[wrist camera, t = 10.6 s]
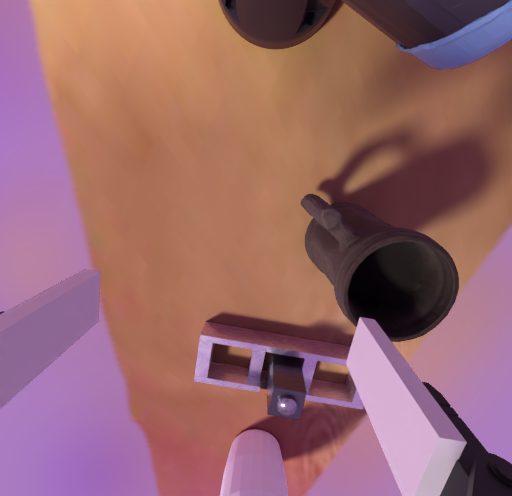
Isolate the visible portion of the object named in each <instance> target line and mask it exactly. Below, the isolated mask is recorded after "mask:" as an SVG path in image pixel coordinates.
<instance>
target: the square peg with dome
mask: <svg viewBox="0 0 512 496" xmlns="http://www.w3.org/2000/svg"><path fill="white" fill-rule="evenodd" d="M306 394H307V392H306V387H305V382H304V376H303V371H302V366H301V361H300V358H298V357H293V356H287V355H281V354H275V353H270V354H269V359H268V363H267V412H268V415H274V416H281V417H287V418H293V419H299V420H300V416H301V412H302V409H303V405H304V401H305V398H306Z"/></svg>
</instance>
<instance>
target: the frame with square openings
mask: <svg viewBox="0 0 512 496" xmlns="http://www.w3.org/2000/svg"><path fill="white" fill-rule="evenodd" d="M215 343H217V344H222V345H228V346H234V347H240V348H246V349H252V354H251V359H250V364H249V368H246V367H240V366H234V365H228V364H222V363H217V362H212V357H213V350H214V344H215ZM350 348H351V346H346V345H340V344H334V343H328V342H322V341H317V340H311V339H305V338H299V337H293V336H288V335H282V334H276V333H270V332H264V331H259V330H253V329H247V328H241V327H235V326H230V325H224V324H218V323H212V322H205V325H204V327H203V330H202V332H201V335H200V341H199V348H198V356H197V363H196V370H195V377H194V381H196V382H202V383H208V384H214V385H220V386H226V387H232V388H237V389H243V390H249V391H255V392H259V394H265V395H267V371H264V370H262V366H263V362H264V357H265V352H269V353H275V354H281V355H287V356H293V357H298V358H302V359H301V366H302V371H303V376H304V382H305V387H306V392H307V394H306V398H305V400H309V401H315V402H320V403H326V404H332V405H338V406H344V407H350V408H356V409H363V406H364V405H363V402H362V400H361V398H360V395H359V393H358V391H357V388H356V386H355V384H354V381H353V379H352V377H351V374H350V372H349V373H348V376H347V380H346V383H345V384H340V383H334V382H328V381H323V380H317V379H312V378H313V374H314V371H315V367H316V363H317V361H322V362H328V363H334V364H339V365H345V366H347V365H346V361H347V358H348V354H349V351H350Z"/></svg>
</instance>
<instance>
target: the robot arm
mask: <svg viewBox="0 0 512 496" xmlns="http://www.w3.org/2000/svg"><path fill="white" fill-rule="evenodd" d="M335 1H336V0H219V3H220V6H221V9H222V11H223V13H224V15H225V17H226V19H227V20H228V22H229V23H230V25H231V26H232V27H233V29H234V30H235V31H236V32H237V33H238V34H239V35H240V36H241V37H243V38H244V39H245V40H247V41H249V42H250V43H252V44H254V45H257V46H259V47H263V48H268V49H284V48H289V47H292V46H295V45H297V44H300V43H302V42H303V41H305V40H307V39H308V38H309V37H311V36H312V35H313V34H314V33H315V32H316V31H317V30H318V29H319V28H320V27H321V26H322V25H323V23H324V22H325V21H326V19H327V18H328V16H329V14H330V12H331V10H332V8H333V6H334V4H335ZM341 1H343V2H344V3H345V4H346V5H348V6H349V7H350V8H352V9H353V10H354V11H356V12H357V13H358V14H359V15H361V16H362V17H363V18H365V19H366V20H367V21H368V22H370V23H371V24H372V25H374V26H375V27H376V28H378V29H379V30H380V31H381V32H383V33H384V34H385V35H387V36H388V37H389V38H390V39H392V40H393V41H394V42H396V47H397V48H398V49H400V50H401V51H403V52H407V53H411V54H412V55H414V56H415V57H417V58H418V59H420V60H421V61H423V62H424V63H425V64H427V65H428V66H430V67H432V68H436V69H447V68H449V69H453V68H458V67H461V66H464V65H467V64H469V63H471V62H474V61H476V60H478V59H480V58H482V57H484V56H486V55H487V54H489V53H491V52H493V51H494V50H496V49H498V48H499V47H501V46H503V45H504V44H506V43H507V42H509V41H510V40H512V0H341ZM99 300H100V272H98V271H93V270H87V269H84V270H83V271H81V272H79V273H77V274H75V275H73V276H71V277H69V278H68V279H66V280H64V281H62V282H60V283H58V284H56V285H54V286H53V287H51V288H49V289H47V290H45V291H43V292H41V293H39V294H38V295H36V296H34V297H32V298H30V299H28V300H26V301H25V302H23V303H21V304H19V305H17V306H15V307H13V308H11V309H10V310H8V311H6V312H4V311H3V312H0V409H1V408H2V407H3V406H4V405H5V404H6V403H7V402H9V401H10V400H11V399H12V398H13V397H14V396H15V395H16V394H18V393H19V392H20V391H21V390H22V389H23V388H24V387H25V386H27V385H28V384H29V383H30V382H31V381H32V380H33V379H34V378H35V377H37V376H38V375H39V374H40V373H41V372H42V371H43V370H44V369H46V368H47V367H48V366H49V365H50V364H51V363H52V362H53V361H55V360H56V359H57V358H58V357H59V356H60V355H61V354H62V353H63V352H65V351H66V350H67V349H68V348H69V347H70V346H71V345H73V344H74V343H75V342H76V341H77V340H78V339H79V338H80V337H81V336H83V335H84V334H85V333H86V332H87V331H88V330H89V329H90V328H92V327H93V326H94V325H95V324H96V323H97V322H98V321H99ZM346 365H347V367H348V370H349V372H350V374H351V377H352V379H353V381H354V384H355V386H356V388H357V391H358V393H359V395H360V398H361V400H362V402H363V405H364V407H365V409H366V412H367V414H368V416H369V419H370V421H371V423H372V426H373V428H374V430H375V433H376V435H377V437H378V440H379V442H380V444H381V447H382V449H383V452H384V454H385V456H386V459H387V461H388V463H389V465H390V468H391V470H392V473H393V475H394V477H395V480H396V482H397V484H398V487H399V489H400V491H401V494H402V496H512V464H511V463H509V462H508V461H506V460H505V459H502V458H500V457H498V456H497V455H494V454H491V453H488V452H487V451H486V449H485V448H484V447H483V446H482V444H481V443H480V442H479V441H478V439H477V438H476V437H475V436H474V434H473V433H472V432H471V431H470V429H469V428H468V427H467V426H466V424H465V423H464V422H463V421H462V419H461V418H459V417H458V414H457V413H456V412H455V411H454V409H453V408H451V407H450V404H449V403H448V402H447V401H446V400H445V398H444V397H443V396H442V394H441V393H439V392H438V391H437V390H436V389H435V388H434V387H432V386H431V385H430V384H429V383H425V382H421V380H420V379H419V378H418V376H417V375H416V374H415V372H414V371H413V370H412V368H411V367H410V366H409V364H408V363H407V362H406V360H405V359H404V358H403V356H402V355H401V354H400V353H399V351H398V350H397V349H396V347H395V346H394V345H393V343H392V342H391V341H390V339H389V338H388V337H387V335H386V334H385V333H384V331H383V330H382V329H381V327H380V326H379V325H378V323H377V322H376V321H375V319H369V318H363V317H360V318H359V321H358V325H357V328H356V331H355V335H354V338H353V341H352V344H351V348H350V351H349V354H348V358H347V361H346Z"/></svg>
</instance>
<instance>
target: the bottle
mask: <svg viewBox="0 0 512 496" xmlns="http://www.w3.org/2000/svg"><path fill="white" fill-rule="evenodd" d="M220 496H288V490H287V481H286V475H285V470H284V465H283V460H282V456H281V451H280V447H279V443H278V442H277V440H276V439H275V438H274V437H273V436H272V435H271V434H270V433H268V432H266V431H263V430H259V429H251V430H247V431H244V432H242V433H241V434H240V435H238V436H237V437H236V438H235V439H234V441H233V443H232V446H231V449H230V453H229V456H228V460H227V463H226V467H225V470H224V476H223V481H222V487H221V492H220Z"/></svg>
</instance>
